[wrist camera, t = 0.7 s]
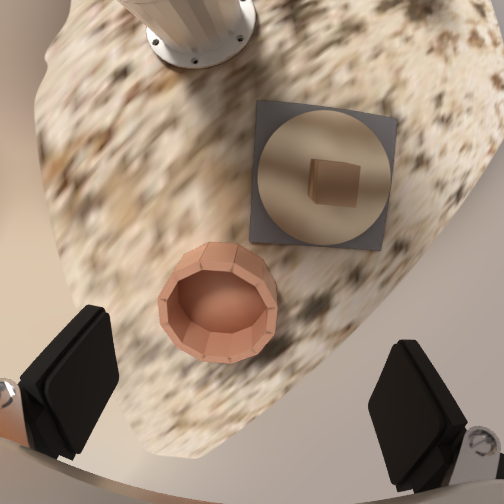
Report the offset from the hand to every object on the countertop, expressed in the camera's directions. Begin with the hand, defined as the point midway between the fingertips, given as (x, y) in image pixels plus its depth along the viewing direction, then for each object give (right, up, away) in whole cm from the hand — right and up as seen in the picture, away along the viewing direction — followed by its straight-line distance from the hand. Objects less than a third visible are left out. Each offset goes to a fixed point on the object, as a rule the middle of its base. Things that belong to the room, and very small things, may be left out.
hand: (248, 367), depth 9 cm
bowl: (-4, -1, +29) cm, 30 cm away
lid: (+8, +12, +24) cm, 28 cm away
